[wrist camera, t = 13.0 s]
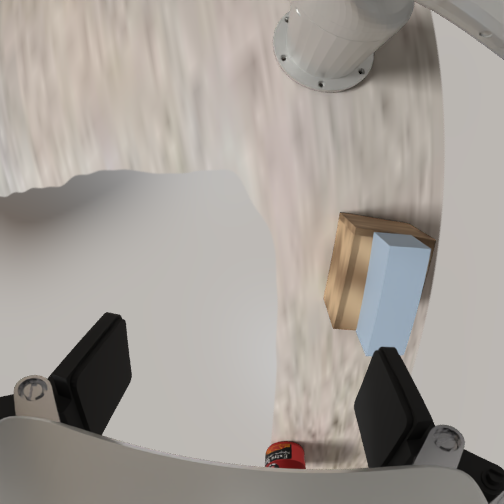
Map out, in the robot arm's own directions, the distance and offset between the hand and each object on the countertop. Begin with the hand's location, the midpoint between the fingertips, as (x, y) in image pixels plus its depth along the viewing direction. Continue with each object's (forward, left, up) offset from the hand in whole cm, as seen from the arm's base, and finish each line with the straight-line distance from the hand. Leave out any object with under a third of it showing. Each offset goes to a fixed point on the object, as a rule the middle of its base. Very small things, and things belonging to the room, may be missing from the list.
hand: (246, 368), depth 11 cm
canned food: (+46, +10, -31) cm, 56 cm away
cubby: (+5, +15, -30) cm, 34 cm away
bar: (+5, +14, -22) cm, 27 cm away
